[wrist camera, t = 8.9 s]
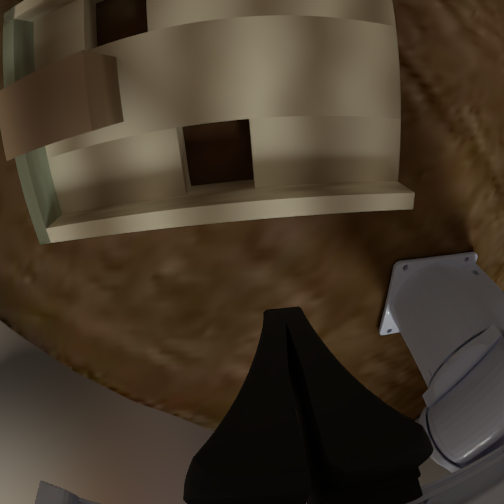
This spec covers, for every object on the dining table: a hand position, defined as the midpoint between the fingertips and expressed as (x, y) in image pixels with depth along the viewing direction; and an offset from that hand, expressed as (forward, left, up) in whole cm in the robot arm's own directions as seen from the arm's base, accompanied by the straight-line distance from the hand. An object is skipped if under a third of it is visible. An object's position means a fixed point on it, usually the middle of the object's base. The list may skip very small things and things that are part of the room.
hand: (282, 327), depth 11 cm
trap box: (+2, -10, -10) cm, 14 cm away
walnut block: (+10, -10, -8) cm, 17 cm away
